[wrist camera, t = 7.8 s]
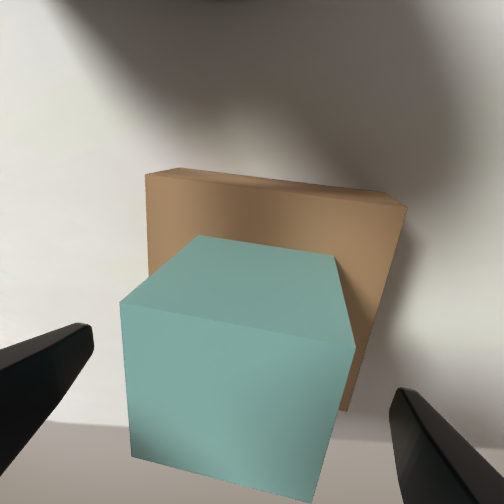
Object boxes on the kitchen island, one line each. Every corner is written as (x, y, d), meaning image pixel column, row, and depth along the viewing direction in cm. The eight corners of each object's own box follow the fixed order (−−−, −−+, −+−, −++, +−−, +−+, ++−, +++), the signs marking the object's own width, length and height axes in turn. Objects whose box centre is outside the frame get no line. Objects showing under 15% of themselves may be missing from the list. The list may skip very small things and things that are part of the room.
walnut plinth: (384, 192, 12) (408, 207, 9) (339, 363, 15) (347, 411, 13) (178, 167, 13) (145, 174, 10) (178, 331, 17) (152, 369, 14)
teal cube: (309, 366, 12) (311, 503, 8) (194, 343, 13) (131, 456, 8) (333, 255, 10) (355, 347, 6) (198, 234, 11) (119, 302, 6)
